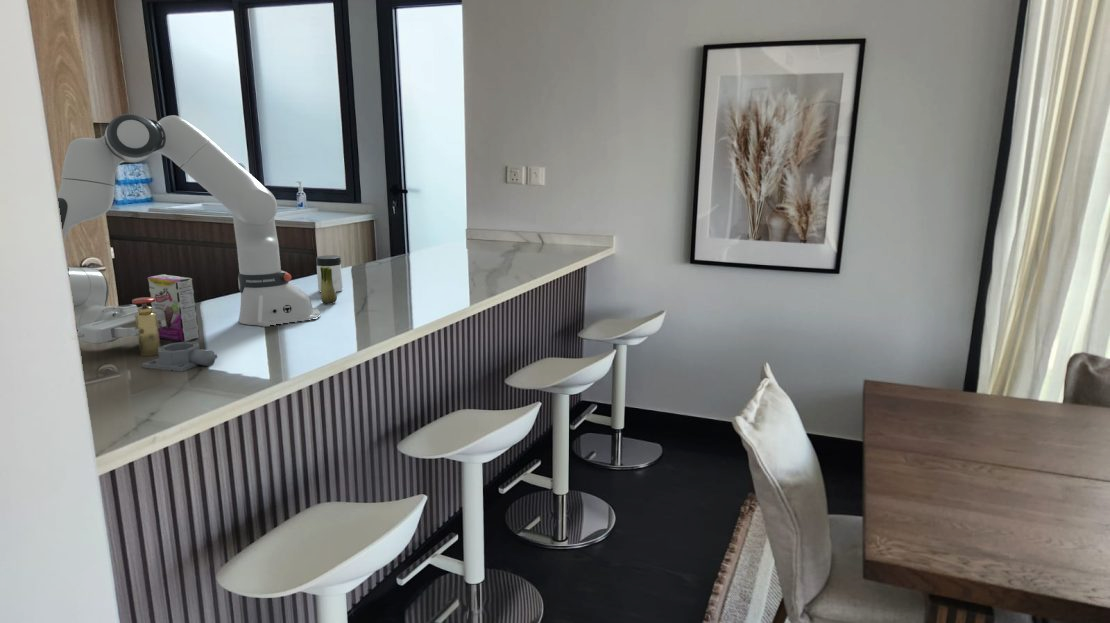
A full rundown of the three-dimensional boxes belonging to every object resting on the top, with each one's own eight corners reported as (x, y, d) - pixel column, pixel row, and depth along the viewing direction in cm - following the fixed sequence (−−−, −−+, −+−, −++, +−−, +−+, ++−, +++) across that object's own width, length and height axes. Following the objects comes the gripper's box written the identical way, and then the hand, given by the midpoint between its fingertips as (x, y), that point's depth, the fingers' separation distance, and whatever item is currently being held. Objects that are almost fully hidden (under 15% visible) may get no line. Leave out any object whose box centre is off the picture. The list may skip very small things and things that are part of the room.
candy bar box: (154, 337, 182) (146, 277, 178) (171, 333, 186) (163, 273, 182) (183, 343, 177) (176, 280, 173) (200, 338, 182) (193, 277, 178)
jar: (324, 294, 236) (321, 259, 233) (313, 290, 241) (310, 257, 238) (348, 290, 242) (345, 257, 239) (337, 287, 247) (334, 254, 245)
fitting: (142, 367, 158) (140, 351, 157) (179, 353, 168) (177, 338, 167) (192, 372, 154) (190, 356, 153) (227, 358, 164) (225, 343, 163)
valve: (163, 349, 171) (155, 296, 168) (161, 354, 167) (153, 300, 164) (140, 352, 169) (133, 298, 166) (138, 357, 165) (130, 302, 162)
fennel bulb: (321, 301, 224) (318, 265, 222) (336, 300, 226) (334, 264, 223) (321, 305, 219) (319, 268, 216) (337, 304, 221) (335, 267, 218)
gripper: (63, 321, 159) (111, 325, 156) (137, 302, 179) (180, 306, 175) (68, 347, 161) (115, 352, 157) (140, 326, 180) (184, 330, 177)
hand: (150, 327), depth 166 cm, fingers open, 7 cm apart
